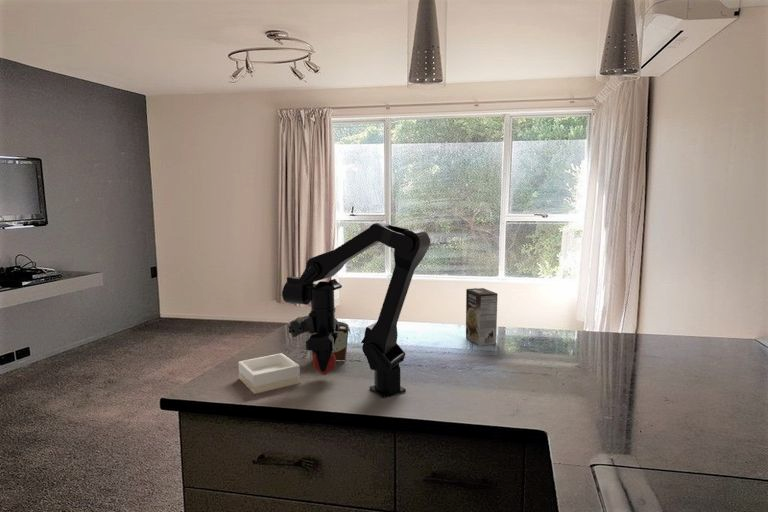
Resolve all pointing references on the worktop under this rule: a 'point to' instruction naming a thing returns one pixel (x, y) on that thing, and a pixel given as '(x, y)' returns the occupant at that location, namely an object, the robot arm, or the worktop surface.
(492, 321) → the coffee box
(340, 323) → the food container
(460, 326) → the worktop surface
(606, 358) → the worktop surface
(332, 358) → the onion
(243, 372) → the open white tray
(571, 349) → the worktop surface
